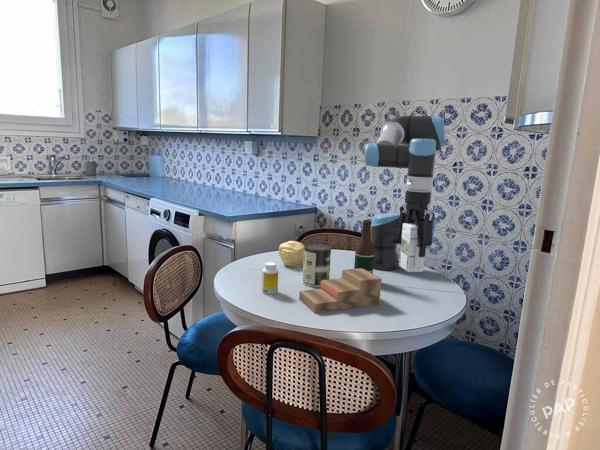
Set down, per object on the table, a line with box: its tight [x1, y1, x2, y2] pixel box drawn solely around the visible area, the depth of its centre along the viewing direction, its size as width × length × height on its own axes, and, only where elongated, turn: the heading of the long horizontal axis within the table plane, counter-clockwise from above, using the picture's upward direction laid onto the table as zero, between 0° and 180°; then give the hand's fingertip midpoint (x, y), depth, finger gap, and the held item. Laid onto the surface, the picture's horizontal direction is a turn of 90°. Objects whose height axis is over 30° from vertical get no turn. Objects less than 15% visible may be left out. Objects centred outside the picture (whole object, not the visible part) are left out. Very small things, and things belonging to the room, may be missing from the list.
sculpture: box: [278, 240, 305, 268], centre depth 179 cm, size 11×12×11 cm
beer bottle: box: [353, 219, 374, 274], centre depth 161 cm, size 8×8×24 cm
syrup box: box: [399, 223, 425, 273], centre depth 130 cm, size 6×6×14 cm
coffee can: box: [302, 243, 332, 288], centre depth 156 cm, size 10×10×14 cm
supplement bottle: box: [261, 261, 279, 295], centre depth 145 cm, size 6×6×10 cm
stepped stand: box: [298, 268, 382, 314], centre depth 139 cm, size 24×12×9 cm, turn 114°
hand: (411, 263), depth 131 cm, fingers closed on syrup box, 6 cm apart
